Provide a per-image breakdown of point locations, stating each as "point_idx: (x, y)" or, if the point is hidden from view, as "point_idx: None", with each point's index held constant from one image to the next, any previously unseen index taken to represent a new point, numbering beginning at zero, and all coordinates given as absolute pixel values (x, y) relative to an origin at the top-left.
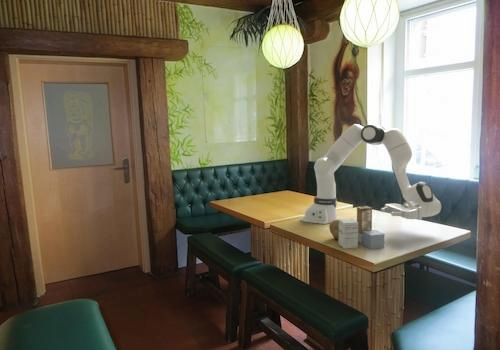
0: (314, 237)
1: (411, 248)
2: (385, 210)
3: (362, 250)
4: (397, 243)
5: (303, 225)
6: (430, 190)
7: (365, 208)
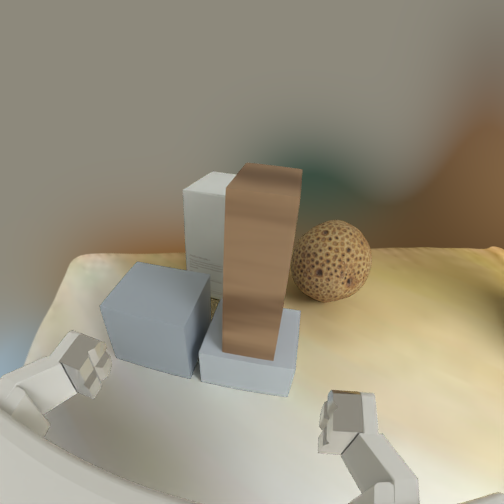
0: None
1: None
2: (358, 473)
3: None
4: (104, 452)
5: (485, 289)
6: None
7: (239, 171)
